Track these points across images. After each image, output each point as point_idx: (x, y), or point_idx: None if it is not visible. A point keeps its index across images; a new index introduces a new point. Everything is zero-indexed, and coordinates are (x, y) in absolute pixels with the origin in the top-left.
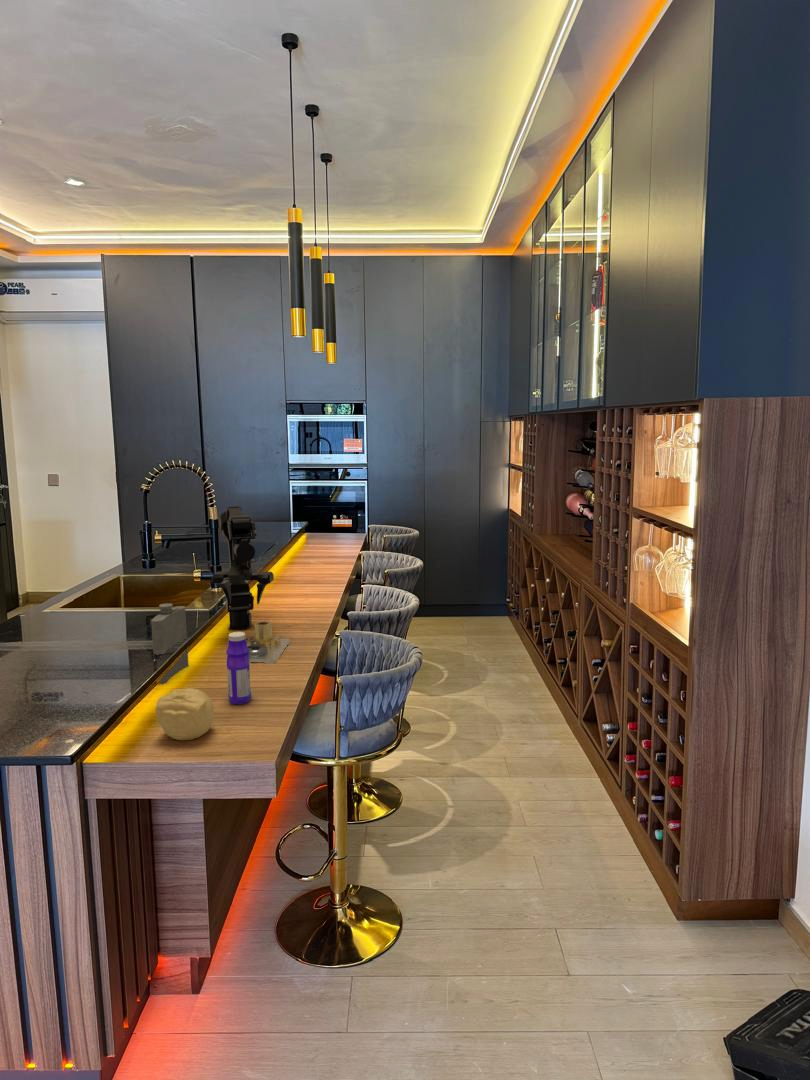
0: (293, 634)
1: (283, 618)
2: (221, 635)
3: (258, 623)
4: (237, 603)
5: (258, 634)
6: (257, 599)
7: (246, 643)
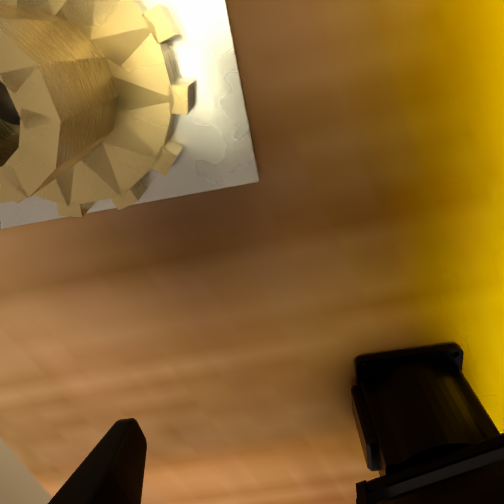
0: (74, 342)
1: (255, 499)
2: (470, 251)
3: (19, 110)
4: (466, 497)
5: (6, 5)
6: (95, 476)
7: (195, 52)
